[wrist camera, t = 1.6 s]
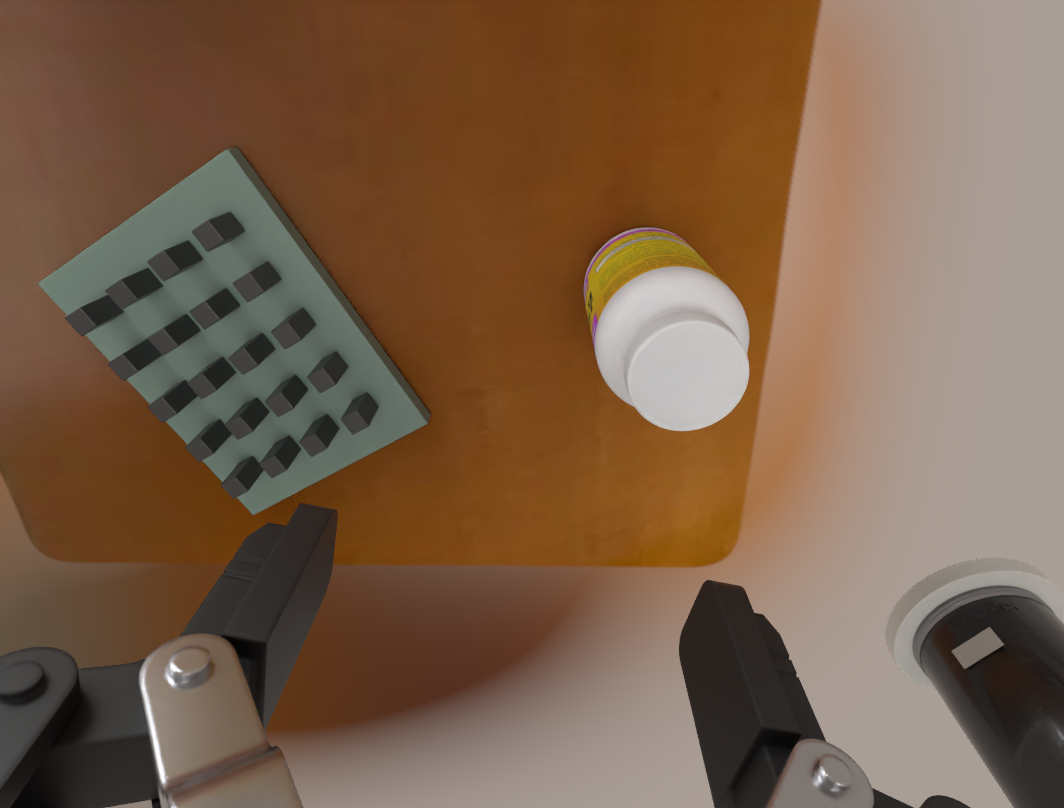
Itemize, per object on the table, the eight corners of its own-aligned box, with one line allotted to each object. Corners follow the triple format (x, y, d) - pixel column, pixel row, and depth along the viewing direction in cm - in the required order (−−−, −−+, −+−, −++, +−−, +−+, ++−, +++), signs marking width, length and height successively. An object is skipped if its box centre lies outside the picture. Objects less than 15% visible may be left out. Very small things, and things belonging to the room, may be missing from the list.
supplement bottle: (562, 259, 35) (571, 342, 24) (673, 202, 34) (741, 260, 22) (612, 359, 38) (643, 477, 26) (718, 309, 36) (799, 411, 25)
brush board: (431, 414, 40) (421, 444, 36) (260, 504, 43) (236, 539, 39) (237, 146, 33) (202, 152, 29) (52, 278, 36) (2, 296, 33)
